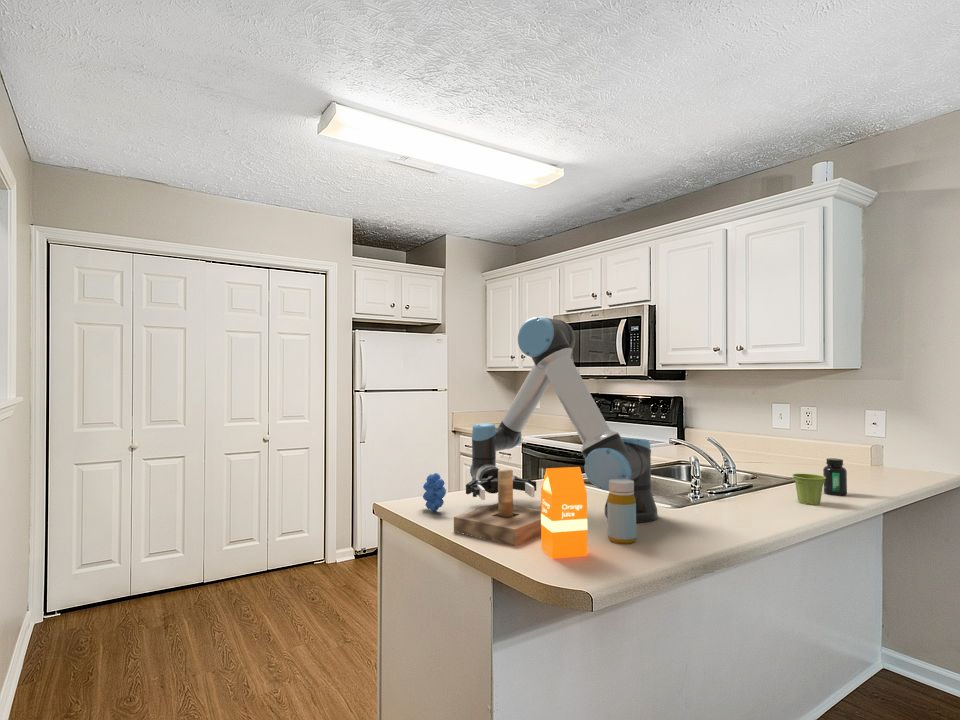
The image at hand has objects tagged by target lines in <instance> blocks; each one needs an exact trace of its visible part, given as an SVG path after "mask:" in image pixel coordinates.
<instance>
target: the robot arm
mask: <svg viewBox="0 0 960 720" xmlns="http://www.w3.org/2000/svg"><path fill="white" fill-rule="evenodd" d="M575 336H576V335H575V333H574V329H573V328H572V326H571V325H570V324H569V323H567V322H566V321H564V320H561V319H555V318H547V317H545V316H536V317H535V316H533V317H530V318H528V319H527V320H525V321H524V322H523V324H522V325H521V326H520V328H519V331H518V333H517V344H518V348H519V349H520V351H521V352H522V353H523V354H524V355H526V356H527V357H530V358H531V359H532V362H533V363H534V364H533V366H532V367H531V369H530V371H529V372H528V374H527V375H526V378H525V379H524V382H522V385H521V387H520V388H519V390H518V392H517V394H516V395H515V398H514V399H513V400H512V403H511V404H510V406H509V407H508V409H507V411H506V413H505V414H504V417H503V418H502V419H501V422H500V423H499V425H498V426H497V427H496V425H495V424H494V423H490V422H489V423H488V422H487V423H486V422H485V423H475V424H473V425H472V429H471V430H472V432H471V433H472V434H471V450H472V452H471V453H472V455H471V457H472V458H471V459H472V460H471V466H470V469H469V473H470V476H471V478H472V479H471V480H470V481H469V482H468V483H466V484H465V494H466V495H470V494H472V498H477V497H479V499H481V501H485V500H486V493H489V494H498V470H500V468H498V467H497V465H496V464H497V463H496V462H497V460H496V459H497V452H499V451H504V450H510V449H513V448H515V447H517V446H518V445H519V444H520V443H521V441H522V431H523V430H524V428H525V426H526V424H527V423H528V421H529V419H530V418H531V416H532V415H533V413H534V411H535V409H536V408H537V406H538V404H539V403H540V400H541V399H542V397H543V396H544V394H545V393H546V391H547V389H548V388H549V386H550V384H551V386H552V388H553V390H554V391H555V393H556V396H557V398H558V399H559V400H560V403H561V405H562V407H563V408H564V410H565V413H566V415H567V417H568V418H569V420H570V422H571V424H572V426H573V427H574V429H575V431H576V433H577V435H578V437H579V439H580V441H581V443H582V446H581V447H582V448H581V450H580V452H581V454H582V457H583V458H584V465H583V467H584V473H585V476H586V478H587V479H588V480H589V482H590V483H591V484H592V485H593V486H595V487H596V488H597V489H600V490H603V491H608V492H609V480H611V479H629V480H633V481H634V496H635V499H636V523H646V522H647V523H648V522H652V521H656V520H657V519H658V515H659V514H658V508H657V504H656V502H655V499H654V496H653V493H652V486H651V485H652V478H651V477H652V469H651V468H652V467H651V465H652V462H651V461H652V459H651V457H652V456H651V453H652V448H651V442H650V441H649V440H648V439H645V438H633V437H632V438H631V437H621V435H620V434H619V432H618V431H615V430H612V429H610V427H609V425H608V423H607V421H606V420H605V418H604V416H603V413H602V412H601V411H600V408H599V406H598V405H597V402H596V401H595V399H594V398H593V396H592V394H591V392H590V390H589V389H588V386H587V385H586V383H585V381H584V380H583V378H582V376H581V373H580V372H579V371H578V369H577V366H576V365H575V363H574V361H573V360H572V358H571V357H572V352H573V350H574V347H575V345H576V337H575ZM513 490H514V491H515V490H517V491H520V492H521V491H523V492H524V493H525V494H527V495H528V496H529V497H531V498H535V492H536V491H537V481H535V480H531V479H525V478H522V477H521V478H520V477H519V476H513ZM608 496H609V494H608V495H607V499H606V502H605V504H604V516H605V517H607V518H608V512H607V501H608Z"/></svg>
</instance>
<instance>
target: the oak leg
mask: <svg viewBox="0 0 960 720" xmlns="http://www.w3.org/2000/svg"><path fill="white" fill-rule="evenodd" d="M513 471H514V470H512V469H499V470H498V493H497V500H498V501H497V503H498V517H501V518H507V519H509V518H512V517H513V506H514V489H513V477H514V473H513Z"/></svg>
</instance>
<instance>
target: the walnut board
mask: <svg viewBox="0 0 960 720" xmlns="http://www.w3.org/2000/svg"><path fill="white" fill-rule="evenodd" d="M453 532H454V533H456V532H459V533H458V534H461V533H464V534H463V535H465V534H468V535H467V536H470V535H472V536H471V537H474V536H477V537H476V538H479V537H481V538H480V539H483V538H485V539H484V540H487V539H489V541H492V540H494V541H493V542H496V541H497V542H498V543H501V544H506V545H511V546H514V547H516V546H518V545H520V544H523V543H525V542H527V541H529V540H531V539H535V538H536V537H538V536H541V509H540V510H539V509H534V508H529V507H523V506H516V505H513V517H512V518H509V519H507V518H501V517H498V502H497V503H493V504H491V505H487V506H484V507H481V508H478V509H475V510H471V511H469V512H466V513H465V512H464V513H462V514H458V515H456V516H453ZM497 542H496V543H497Z"/></svg>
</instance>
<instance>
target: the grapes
mask: <svg viewBox="0 0 960 720" xmlns="http://www.w3.org/2000/svg"><path fill="white" fill-rule="evenodd" d="M445 484H446V483H445V481H444V480H443V478H441V475H440V474H439V473H437V472H435V473H431V474H429V475H428V476H427V477H426V479H425V482H424V484H423V487H422V488H423V489H424V491H425V492H424V493H423V495H422V498H423V500H425V507H426V508H427V509H429V510H431V511H432V512H434V513H435V512H437V511H438V510H439V508H441V507H442V506H444V503H445V501H444V500H443V499H444V497H445V496H446V493H447V489H446V487H445Z"/></svg>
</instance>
